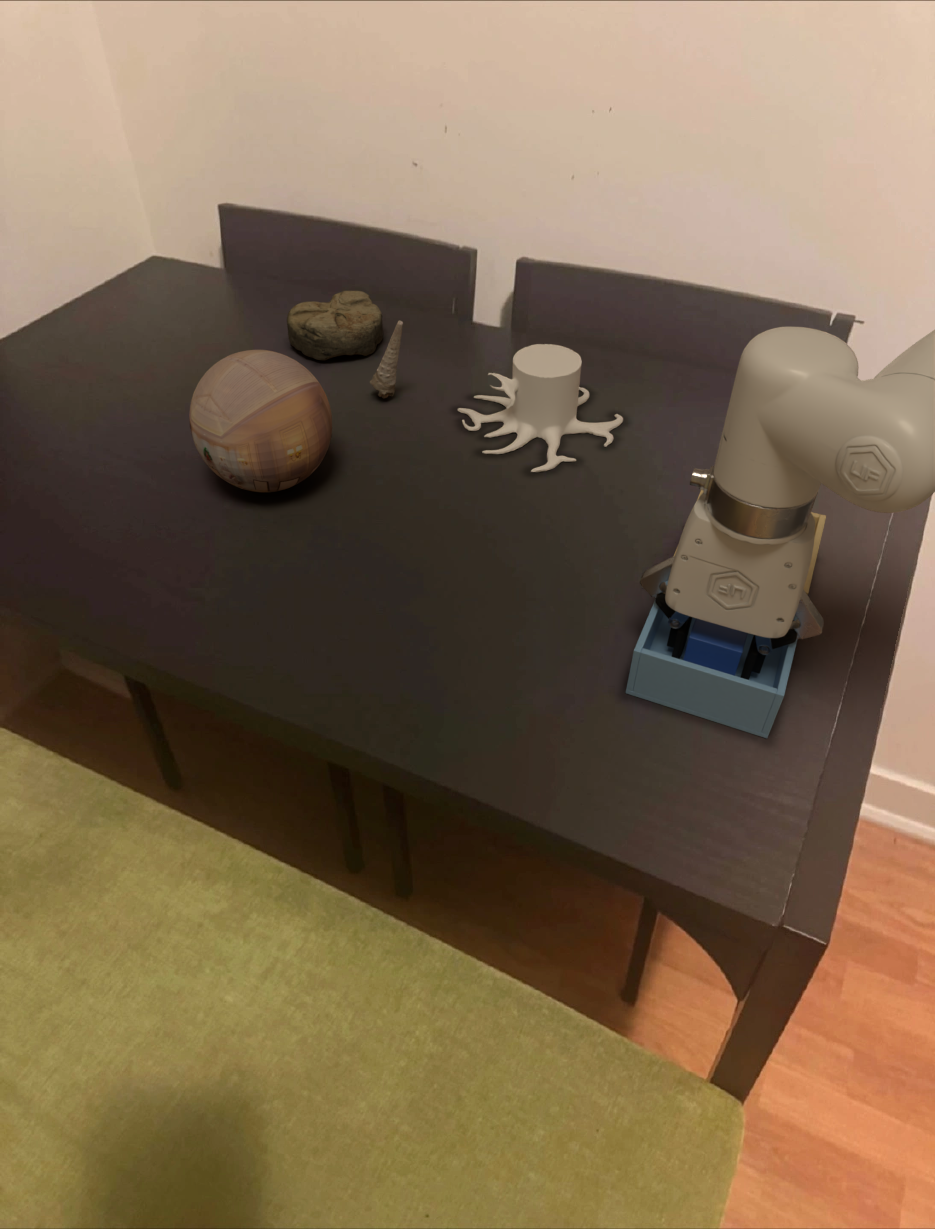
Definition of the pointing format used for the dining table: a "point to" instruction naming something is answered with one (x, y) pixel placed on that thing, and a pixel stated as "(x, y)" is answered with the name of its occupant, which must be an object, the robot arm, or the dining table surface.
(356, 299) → the stone
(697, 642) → the blue block
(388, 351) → the seashell
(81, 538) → the dining table surface
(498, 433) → the tree stump
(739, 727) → the blue bin
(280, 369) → the ornament
